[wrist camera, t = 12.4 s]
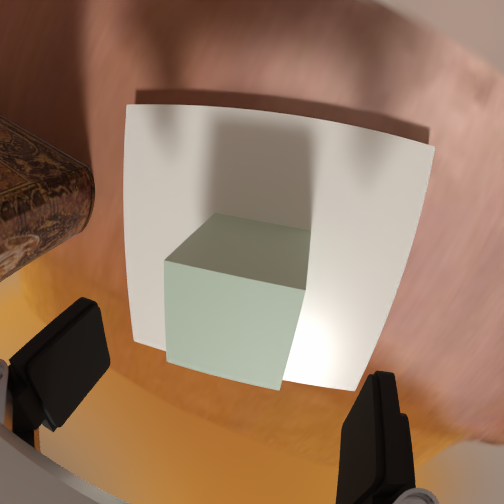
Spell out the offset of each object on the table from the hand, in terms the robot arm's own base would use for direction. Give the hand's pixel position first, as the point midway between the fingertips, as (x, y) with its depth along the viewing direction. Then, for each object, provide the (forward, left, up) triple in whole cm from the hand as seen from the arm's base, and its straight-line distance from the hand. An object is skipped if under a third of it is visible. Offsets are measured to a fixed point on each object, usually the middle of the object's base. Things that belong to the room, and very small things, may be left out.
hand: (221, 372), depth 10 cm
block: (0, 0, -8) cm, 8 cm away
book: (+20, -4, -9) cm, 22 cm away
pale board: (+1, 0, -9) cm, 9 cm away
